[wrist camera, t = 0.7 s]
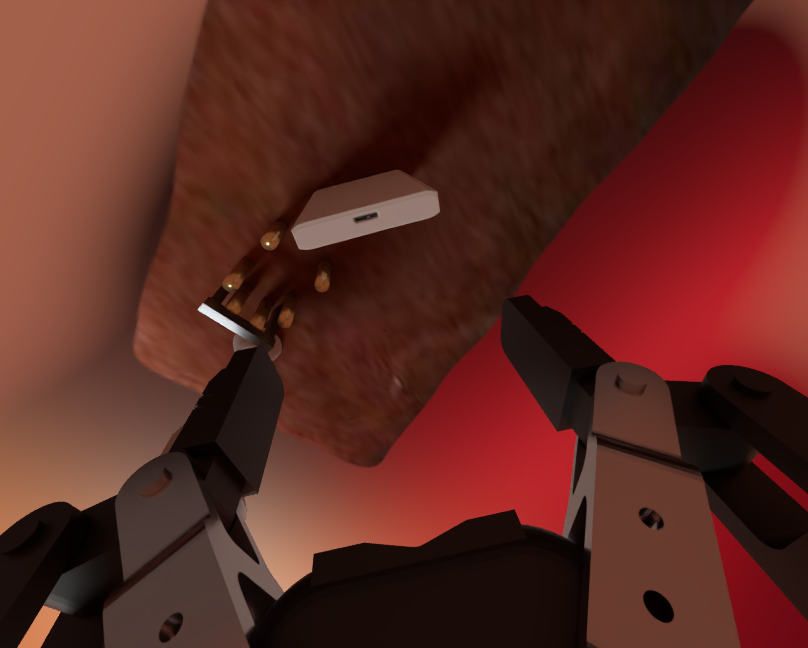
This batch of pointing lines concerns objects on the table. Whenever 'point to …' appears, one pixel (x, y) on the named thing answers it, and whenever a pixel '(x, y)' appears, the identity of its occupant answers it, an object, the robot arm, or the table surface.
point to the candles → (279, 317)
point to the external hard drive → (363, 208)
